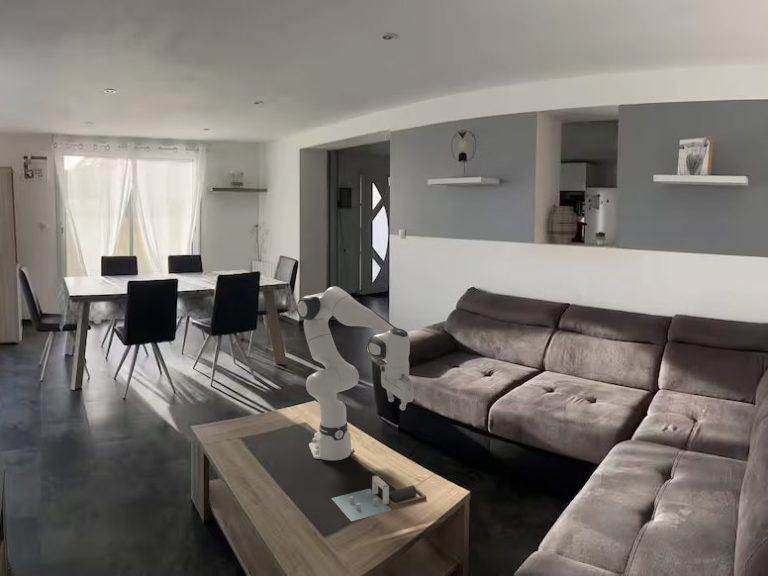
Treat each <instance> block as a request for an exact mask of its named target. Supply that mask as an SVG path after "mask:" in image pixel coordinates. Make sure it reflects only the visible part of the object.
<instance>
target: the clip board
mask: <svg viewBox="0 0 768 576" xmlns="http://www.w3.org/2000/svg"><path fill="white" fill-rule="evenodd" d="M331 500H332V501H333V502H334V503H335V504H336V506H337V507H338V508H339V509H340V510H341V511H342V513H344V515H345V516H346V517H347V518H348V519H349V521H350V522H355V521H358V520H362V519H365V518H368V517H373V516H376V515H379V514H384V513H387V512H391V511H392V510H393V509H392V508H390V506H388V504H385V505H384V504H383V499H381V498H380V497H379V496H378V495H377V494H374V495H373V494H372V488H366V489H362V490H359V491H354V492H351V493H346V494H344V495H338V496H335V497H331Z"/></svg>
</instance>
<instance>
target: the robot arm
mask: <svg viewBox="0 0 768 576" xmlns="http://www.w3.org/2000/svg"><path fill="white" fill-rule="evenodd" d="M296 305H297V306H296V311H297V313H298V315H299V318H301V319H302V320H304V321H303V331H304V335H305V340H306V342H307V347H308V349H309V352H310V356H311V358H312V359H313V360H314V361H316V362H318V363H320V364H322V365H323V366H324V369H322V370H321V369H320V370H318V371H315V372H313V373H311V374H310V375H309V376H307V378H306V381H305V388H306V391H307V393H308V394H309V395H310V396H311V397H313V398H315V400H316V402H317V403H318V405H319V409H320V423H319V429H318V431H316V432H315V433H314V435H313V438H312V439H311V442H309V443H308V447H309V449H310V451H311V454H312V456H313V458H314V459H316V460H317V459H318V460H325V461H340V460H344V459H346V458H348V457H350V455H351V453H352V452H354V451H355V447H354V446H352V439H351V433H350V432H349V431H348V426H349V425H348V422H347V407H346V405H345V403H344V402H343V401H341V400H339V399H338V397H337V394H338V393H340V392H344V391H347V390H349V389H352V388H353V387H355V386H356V385H357V384H358V383H359V379H360V375H359V371H358V370H357V368H356V367H355V366H354V365H353V364H351V363H348V361H346V360H345V359H344V358H343V357H342V356H341V354H340V353H339V351H338V348H337V346H336V344H335V341H334V339H333V335H332V332H331V330H330V326H329V321H330V320H335V319H336V320H337V321H338V322H339V323H340V324H342V325H344V326H346V327H347V326H348V327H363V328H364V327H366V328H369V329H372V330H374V332H376V334H375V335H371V336H370V337H369V338H368V342H367V351H368V354H369V355H370V356H371V357H372V358H374V359H375V360H376V359H377V360H385V363H386V364H380V371H381V372H380V384H381V387H382V388H383V389H385V390H386V395H387V398H388V399H387V400H388V402H390V403H393V402H394V401H395V397H397V398H398V399H399V400H400V402H401V403H400V404H399V409H400V410H401V411H405V410H406V408H407V407H406V406H407V404H408V403H411V402H413V401H414V395H415V394H414V385H413V382H412V381H411V378H410V377H409V376H410V361H409V360H410V359H409V356H410V351H411V350H410V348H411V340H410V337H409V333H408V332H407V331H406V330H405V329H402V328H399V327H396V326H394V325H393V324H392V323H391V322H389V321H387V320H386V319H385V318H384V317H382V316H381V315H380V314H378V313H377V312H375V311H374V310H372V309H371V308H368V307H366V306H365V305H363V304H362V303H360V302H359V301H357V300H356V299H355V298H353V296H352V295H351V294H349V293H348V292H347V291H345V290H344V289H342V288H341V287H339V286H337V285H336V286H330V287H328V288H327V289H326V290H325V291H324V292H318V293H315V294H311V295H309V294H307V295H305V296H302V297H300V298H299V299H298V301H297V304H296ZM394 396H395V397H394Z"/></svg>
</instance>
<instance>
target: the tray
mask: <svg viewBox="0 0 768 576" xmlns="http://www.w3.org/2000/svg"><path fill="white" fill-rule="evenodd" d="M415 488H416V492H417V494H416V495H418V496H419V497H416V498H411V499H409V500H404V501H401V502H397V503H396V502H394V501H393V500H392V499H391V496H390V492H389V504H388V505H390V506H391V507H392V508H393V509H398V508H401V507H405V506H408V505H411V504H412V505H413V504H414V503H415V504H416V503H420V502H422V501H427V496H426V495H425V494H424V493H423V492H421V491H420V490H419V489H418V488H417V487H416V486H415Z"/></svg>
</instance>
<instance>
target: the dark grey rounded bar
mask: <svg viewBox="0 0 768 576" xmlns="http://www.w3.org/2000/svg"><path fill="white" fill-rule="evenodd" d="M415 487H416V486H415V485H414V484H413V485H409V486H405V487H402V488H401V487H400V488H396V489H393V490H390V491H389V493H390V496H391V497H390V500H391V501H392V502H393V503H396V502H399V501H402V500H406V499H410V498H413V497H416V496H417V495H418V494H417V492H416V488H417V487H416V488H415Z"/></svg>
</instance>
